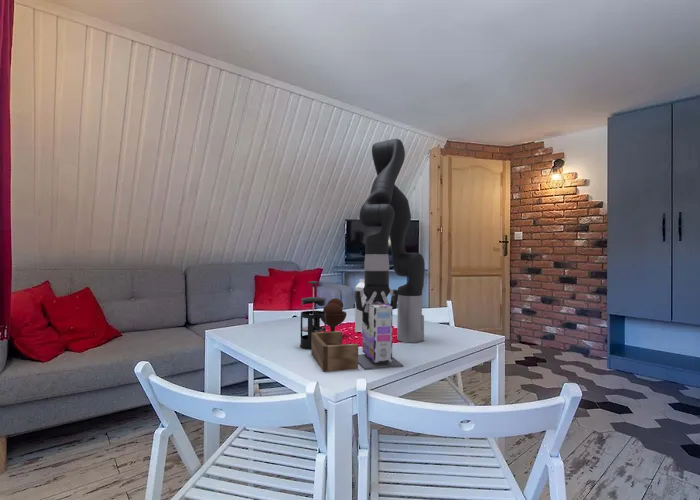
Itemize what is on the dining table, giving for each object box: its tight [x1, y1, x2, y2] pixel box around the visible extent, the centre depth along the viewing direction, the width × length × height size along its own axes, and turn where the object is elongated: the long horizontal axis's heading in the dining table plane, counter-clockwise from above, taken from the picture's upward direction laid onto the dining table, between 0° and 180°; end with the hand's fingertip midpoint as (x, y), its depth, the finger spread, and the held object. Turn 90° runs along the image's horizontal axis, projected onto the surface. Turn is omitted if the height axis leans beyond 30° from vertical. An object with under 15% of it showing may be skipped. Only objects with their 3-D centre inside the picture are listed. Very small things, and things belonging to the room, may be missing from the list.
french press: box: [299, 280, 327, 351], centre depth 140 cm, size 12×9×23 cm
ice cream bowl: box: [320, 297, 347, 332], centre depth 156 cm, size 11×11×15 cm
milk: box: [354, 278, 368, 334], centre depth 164 cm, size 6×6×22 cm
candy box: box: [361, 301, 393, 363], centre depth 121 cm, size 14×6×16 cm, turn 13°
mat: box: [358, 353, 404, 371], centre depth 121 cm, size 12×14×1 cm
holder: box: [310, 330, 359, 373], centre depth 122 cm, size 10×19×7 cm, turn 16°
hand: (376, 323), depth 121 cm, fingers closed on candy box, 6 cm apart
